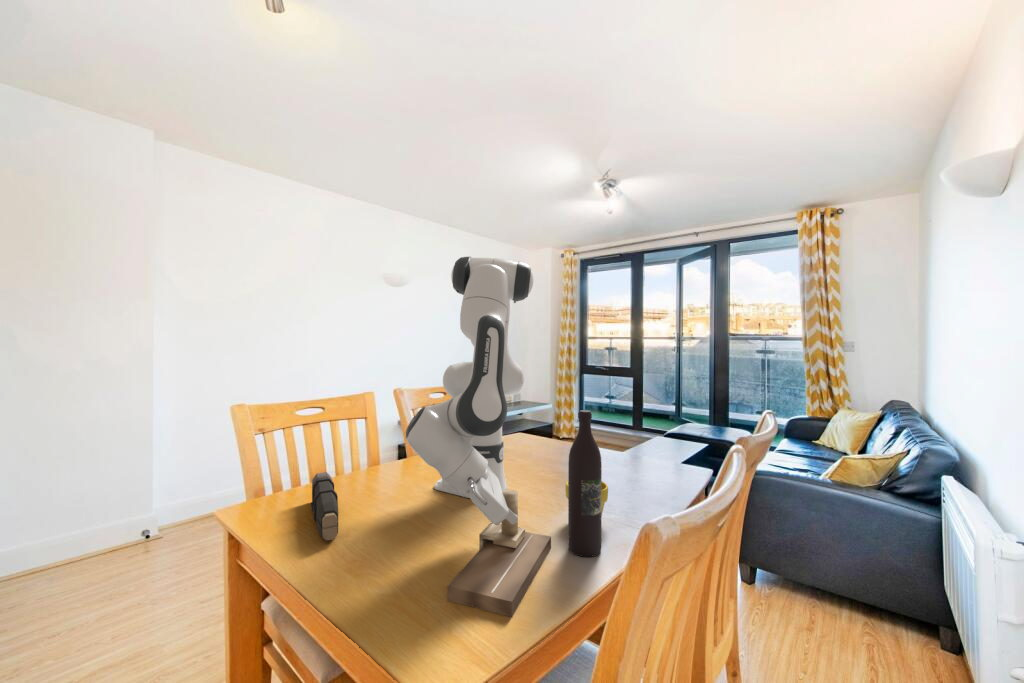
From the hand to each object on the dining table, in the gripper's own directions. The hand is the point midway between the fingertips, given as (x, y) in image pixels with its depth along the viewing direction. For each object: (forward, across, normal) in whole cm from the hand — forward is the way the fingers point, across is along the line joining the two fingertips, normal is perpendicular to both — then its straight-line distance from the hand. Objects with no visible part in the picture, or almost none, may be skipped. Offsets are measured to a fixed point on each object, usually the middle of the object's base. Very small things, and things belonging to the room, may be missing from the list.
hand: (513, 515), depth 87 cm
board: (+4, -7, +7) cm, 11 cm away
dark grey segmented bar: (-26, +22, +38) cm, 51 cm away
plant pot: (+20, +11, -8) cm, 24 cm away
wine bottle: (+17, -1, -5) cm, 17 cm away
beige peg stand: (+3, +1, +7) cm, 7 cm away
